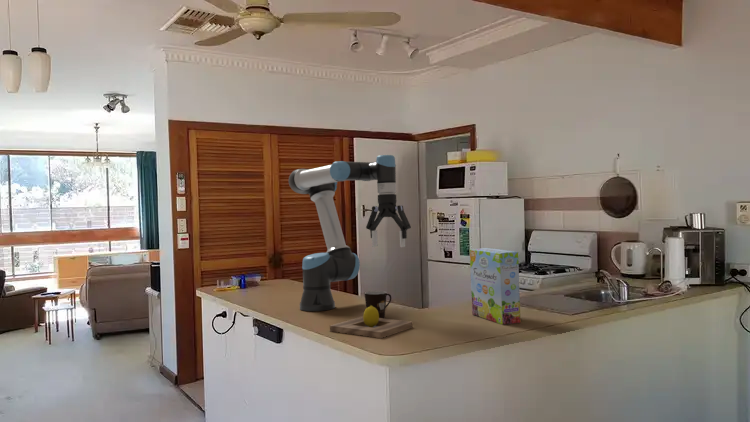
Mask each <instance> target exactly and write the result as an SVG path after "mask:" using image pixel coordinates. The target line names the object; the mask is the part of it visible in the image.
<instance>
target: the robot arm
mask: <svg viewBox="0 0 750 422" xmlns="http://www.w3.org/2000/svg"><path fill="white" fill-rule="evenodd" d="M375 160H376V161H343V160H340V161H334V162H332V164H328V165H324V166H319V167H315V168H298V169H294V170H293V171H292V172H291V173H290V175H289V176H288V184H289V185H288V186H289V187H290V188H291V190H292V191H293V192H294V193H297V194H301V195H309V198H310V201H312V202H313V203H314V204H315V205H314V206H315V207H316V212H317V214H318V215H317V216H318V219H319V222H320V223H319V224H320V227H321V231H322V234H323V238H324V241H325V245H326V248H327V250H326V252H317V253H312V254H308V255H306V256H304V257H303V258H302V264H301V265H302V267H301V269H302V285H303V286H302V288H303V290H302V291H303V292H302V295H301V300H300V302H299V310H301V311H305V312H321V311H329V310H332V309H335V308H336V302H335V300H334V296H333V294H332V290H331V283H334V282H341V281H349V280H352V279H355V278H356V277H357V275H358V273H359V271H360V270H361V268H360V267H361V264H360V263H361V262H360V257H359V256H358V255H357V254H356V253H354V252H352V250H351V247H350V246H349V245H346V240H345V236H344V234H343V230H342V226H341V222H340V220H339V216H338V215H339V214H338V211H337V208H336V204H335V201H334V196H335V194H336V193H335V192H336V191H337V188H338V182H339V183H340V182H346V181H362V182H370V181H377V182H376V183H377V184H376V185H377V187H376V188H377V194H378V195H377V204H378V206H376V205H372V206H371V213H370V216H369V218H368V221H367V224H366V227H365V228H366V230H369V231H370V239H371V244H372V245H371V246H372V248H373V247H374V248H375V247H378V245H379V244H378V241H379V240H378V230H377V228H378V226H379V225H380V223H381V222H382V220H383V219H384V218H391V219H393V221H394V222H395V223H396V225H397V226H398V227H399V229H400V230H399V247H400V248H405V247H406V239H407V238H408V237H407V232H408V230H409V229H411V224H410V221H409V219H408V218H407V215H406V213H405V211H404V210H405V209H404V205H403V204H402V205H397V201H398V200H397V194H396V193H397V177H396V175H397V174H396V173H397V172H396V166H397V165H396V157H395V156H394V155H392V154H382V155H377V156H376V159H375Z"/></svg>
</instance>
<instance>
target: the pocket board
mask: <svg viewBox="0 0 750 422" xmlns="http://www.w3.org/2000/svg"><path fill="white" fill-rule="evenodd" d="M412 328H413V321H410V320H409V321H408V320H400V319H399V320H398V319H393V318H391V319H390V318H385V319H384V318H379V321H378V323H377V324H376V325H375V326H373V328H372V327H369V326H367V325H366V324H365V323H364V320H363V315H361V316H358V317H356V318H351V319H348V320H344V321H342V322H337V323H334V324H331V325H329V332H333V333H338V332H340V334H345V333H347V334H348V335H353V334H354V336H360V335H363V336H362V337H367V336H369V337H368V338H374V337H376V338H375V339H384V338H387V337H389V336H393V335H394V334H398V333H401V332H404V331H407V330H409V329H412ZM386 336H387V337H386ZM383 337H384V338H383Z"/></svg>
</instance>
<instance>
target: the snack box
mask: <svg viewBox="0 0 750 422" xmlns="http://www.w3.org/2000/svg"><path fill="white" fill-rule="evenodd" d="M469 265H470V266H469V267H470V290H471V291H470V293H471V313H472V315H473V316H476V317H479V318H482V319H484V320H488V321H491V322H493V323H496V324H499V325H502V326H505V325H513V324H521V323H522V322H521V321H522V320H521V300H520V299H521V298H520V297H521V296H520V295H521V294H520V272H519V271H520V269H519V265H520V261H519V252H518V251H516V250H515V251H514V250H507V249H499V248H492V247H491V248H489V247H481V248H470V249H469Z"/></svg>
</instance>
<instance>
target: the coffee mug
mask: <svg viewBox="0 0 750 422" xmlns="http://www.w3.org/2000/svg"><path fill="white" fill-rule="evenodd" d="M363 294H364V299H365V306H366V307H365V309H366V308H368V307H370V306H373V307H375V308H376V309H377V310H378V313H379V318H384V319H386V317H385V315H386V308H387V307H388V306H389V304H390V303H391V302H392V295H391V294H390V293H388V292H387V291H385V290H370V291H365V292H364V293H363ZM387 296H389V301H388V302H387ZM386 303H387V304H386Z"/></svg>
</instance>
